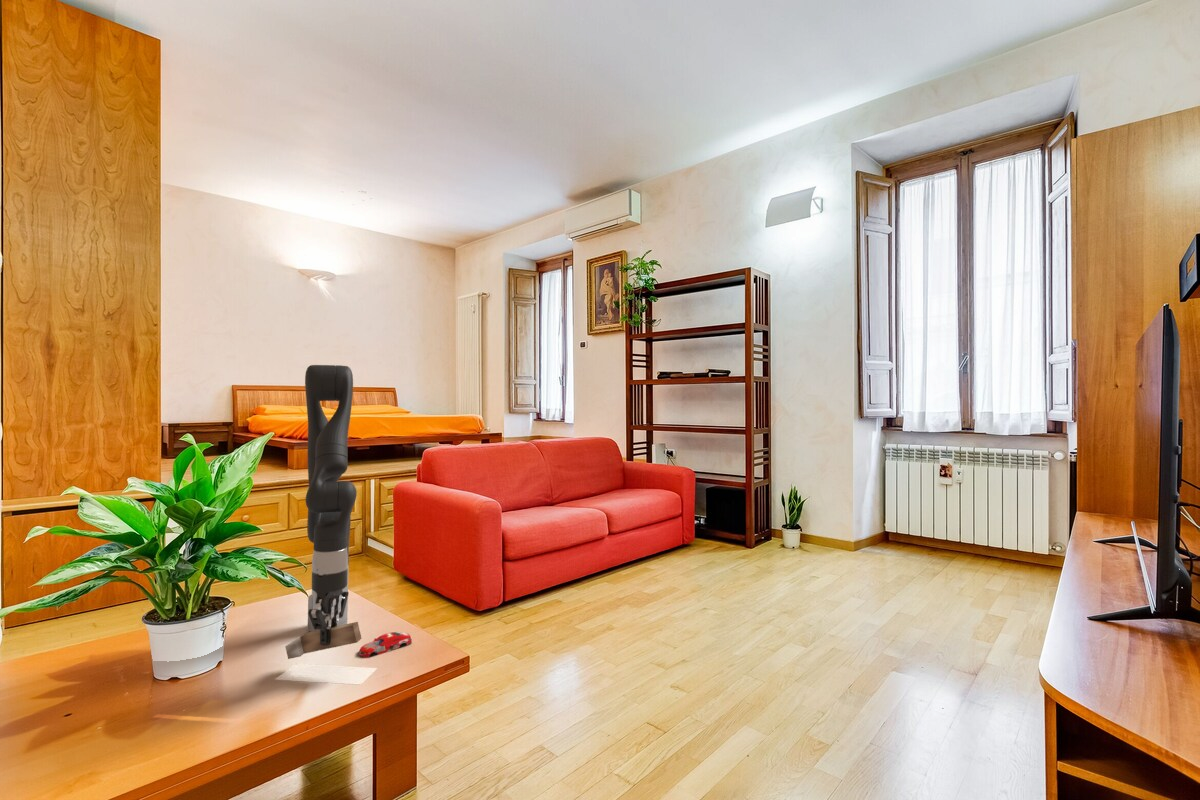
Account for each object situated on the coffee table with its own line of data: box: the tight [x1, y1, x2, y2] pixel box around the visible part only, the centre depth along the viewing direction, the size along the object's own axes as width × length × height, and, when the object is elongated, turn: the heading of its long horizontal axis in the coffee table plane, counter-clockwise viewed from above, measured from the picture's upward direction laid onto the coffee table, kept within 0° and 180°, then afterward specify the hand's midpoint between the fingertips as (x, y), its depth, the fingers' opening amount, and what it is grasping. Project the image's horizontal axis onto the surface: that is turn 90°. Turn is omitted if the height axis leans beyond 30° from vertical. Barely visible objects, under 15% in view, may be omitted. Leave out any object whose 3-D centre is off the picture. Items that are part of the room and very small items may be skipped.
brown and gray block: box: [284, 621, 362, 660], centre depth 133 cm, size 16×5×4 cm, turn 85°
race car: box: [358, 631, 413, 659], centre depth 147 cm, size 13×5×4 cm, turn 135°
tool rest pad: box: [274, 663, 378, 686], centre depth 133 cm, size 20×8×1 cm, turn 85°
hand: (328, 642), depth 133 cm, fingers closed on brown and gray block, 2 cm apart
